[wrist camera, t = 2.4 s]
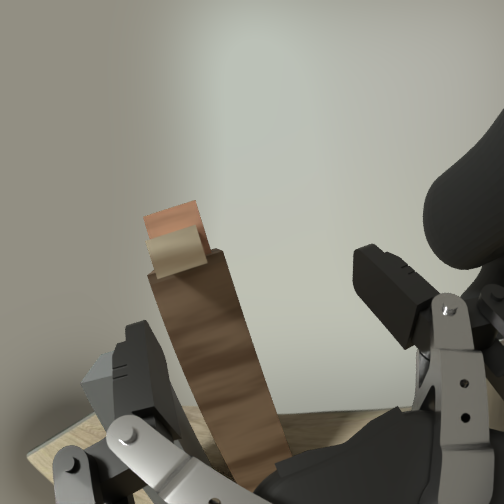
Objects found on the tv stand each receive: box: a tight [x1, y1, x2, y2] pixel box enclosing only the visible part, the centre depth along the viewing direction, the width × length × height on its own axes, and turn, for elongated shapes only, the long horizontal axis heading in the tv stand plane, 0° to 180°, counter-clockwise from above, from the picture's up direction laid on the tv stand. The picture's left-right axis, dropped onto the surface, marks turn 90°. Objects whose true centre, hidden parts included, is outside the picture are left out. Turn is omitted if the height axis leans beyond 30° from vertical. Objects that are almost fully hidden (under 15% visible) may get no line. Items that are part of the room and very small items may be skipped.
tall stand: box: [147, 248, 292, 493], centre depth 38 cm, size 10×8×32 cm
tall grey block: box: [80, 351, 211, 504], centre depth 37 cm, size 10×8×23 cm
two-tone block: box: [143, 200, 212, 279], centre depth 32 cm, size 16×6×6 cm, turn 10°
